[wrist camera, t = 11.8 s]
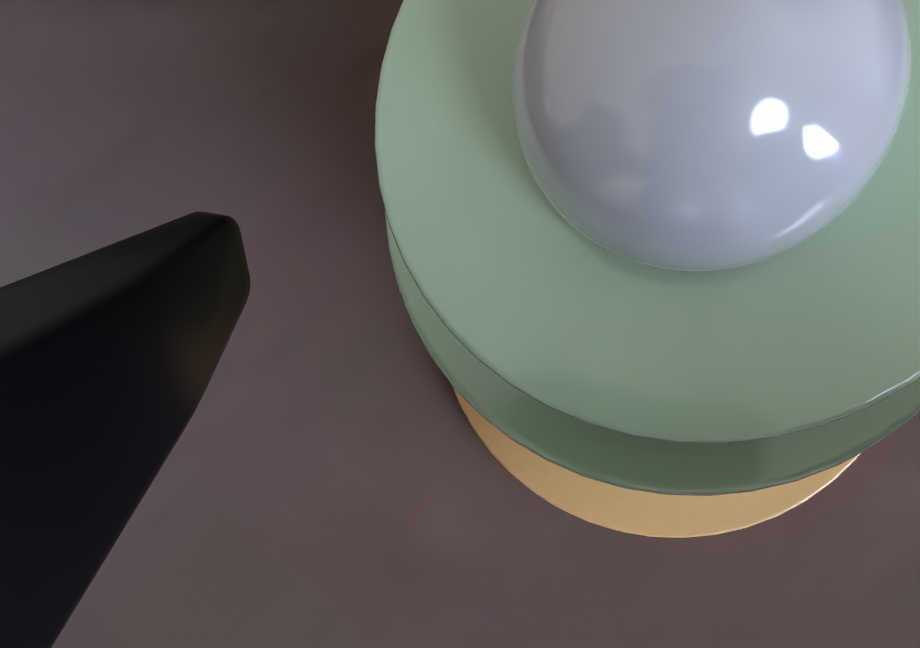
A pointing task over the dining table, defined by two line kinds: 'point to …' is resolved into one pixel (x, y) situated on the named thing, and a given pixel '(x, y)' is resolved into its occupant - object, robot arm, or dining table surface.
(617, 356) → the pepper mill
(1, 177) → the dining table surface
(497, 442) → the cork trivet
